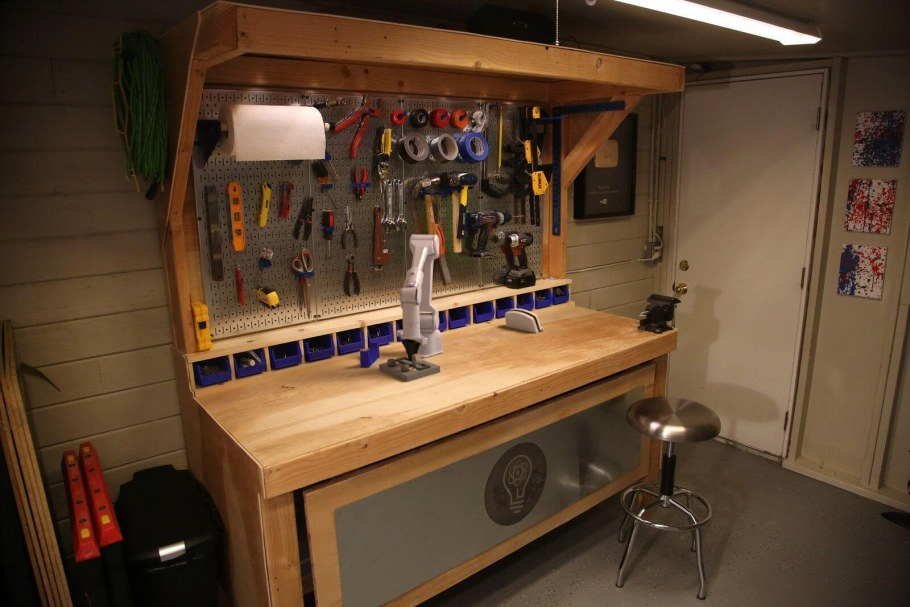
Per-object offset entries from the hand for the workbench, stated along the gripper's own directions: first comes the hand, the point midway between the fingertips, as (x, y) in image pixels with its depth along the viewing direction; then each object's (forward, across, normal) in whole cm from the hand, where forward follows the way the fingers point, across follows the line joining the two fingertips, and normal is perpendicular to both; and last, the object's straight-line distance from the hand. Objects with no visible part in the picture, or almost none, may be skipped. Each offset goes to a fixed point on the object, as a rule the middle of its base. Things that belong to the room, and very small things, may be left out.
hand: (412, 360), depth 209 cm
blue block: (+4, -18, -6) cm, 19 cm away
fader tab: (+1, +2, 0) cm, 3 cm away
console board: (+3, 0, -2) cm, 4 cm away
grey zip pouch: (+4, -9, +66) cm, 66 cm away
